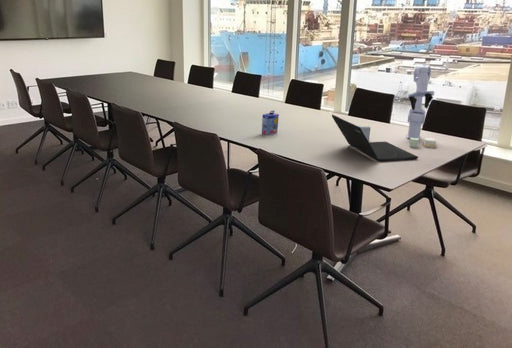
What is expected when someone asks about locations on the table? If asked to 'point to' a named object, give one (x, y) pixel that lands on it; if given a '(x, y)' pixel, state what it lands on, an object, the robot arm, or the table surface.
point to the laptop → (371, 143)
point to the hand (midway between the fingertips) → (419, 108)
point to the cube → (414, 142)
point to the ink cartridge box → (270, 123)
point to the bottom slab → (429, 145)
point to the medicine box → (365, 131)
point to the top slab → (429, 141)
